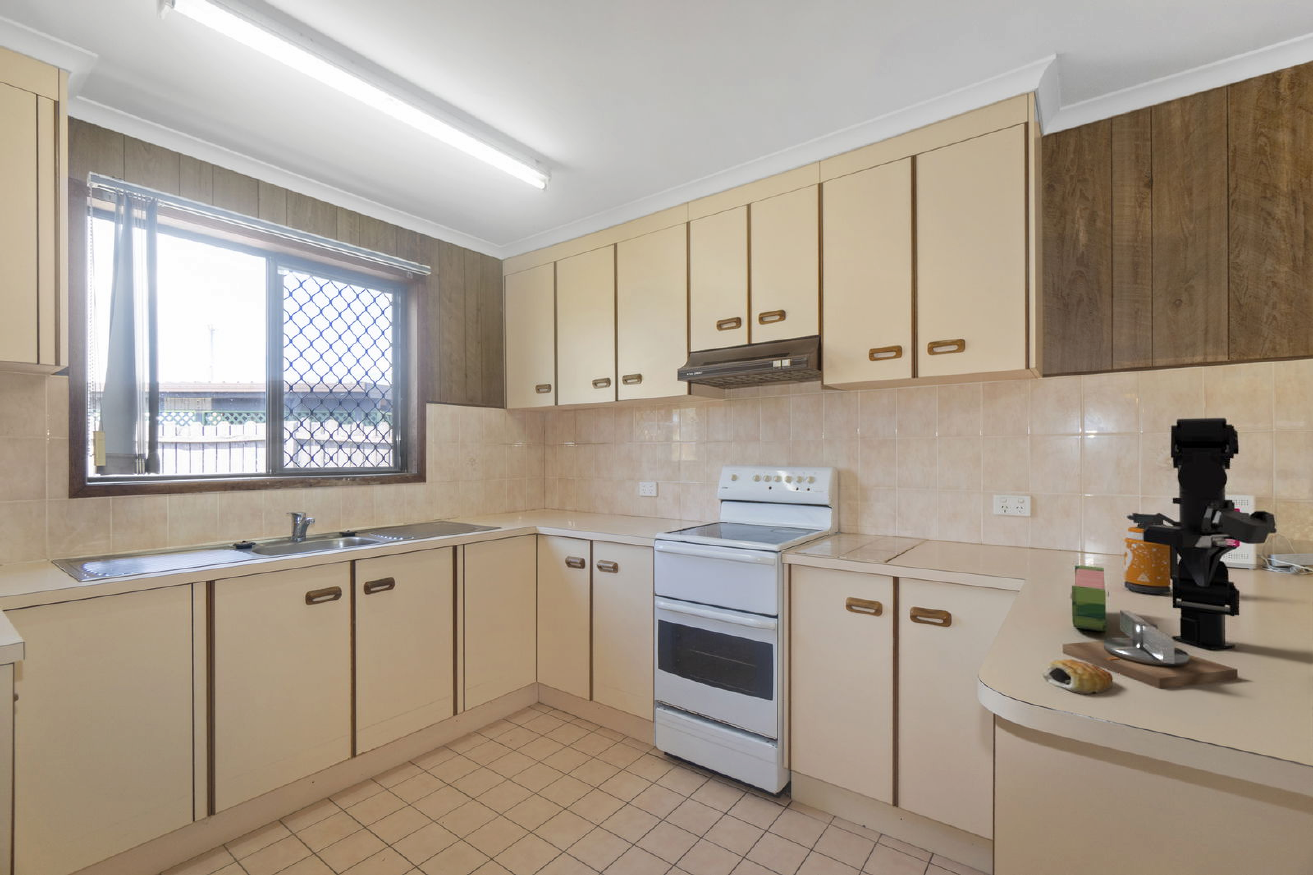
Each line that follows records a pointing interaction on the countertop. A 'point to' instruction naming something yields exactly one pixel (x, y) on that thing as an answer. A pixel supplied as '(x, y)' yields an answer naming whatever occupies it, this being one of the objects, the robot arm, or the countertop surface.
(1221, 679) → the dial board
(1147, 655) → the silver metal stand
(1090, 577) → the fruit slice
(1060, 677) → the pastry
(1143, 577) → the canister
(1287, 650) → the countertop surface
